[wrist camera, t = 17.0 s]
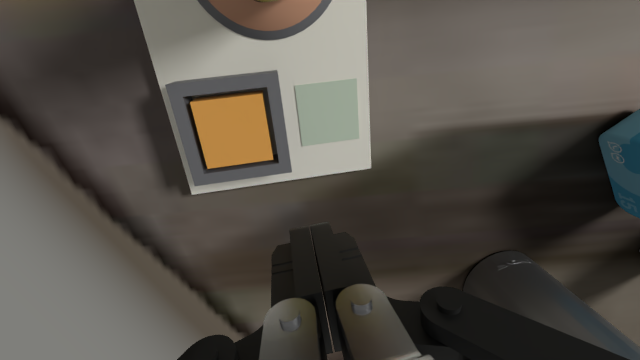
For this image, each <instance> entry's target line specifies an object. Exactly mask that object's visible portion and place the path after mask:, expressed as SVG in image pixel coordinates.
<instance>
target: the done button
mask: <svg viewBox="0 0 640 360" xmlns="http://www.w3.org/2000/svg"><path fill="white" fill-rule="evenodd" d="M190 105H191V109H192V112H193V116H194V120H195V124H196V127H197V131H198V135H199V139H200V142H201V146H202V150H203V154H204V158H205V161H206V165H207V169H210V168H217V167H225V166H232V165H239V164H246V163H253V162H260V161H267V160H273V148H272V142H271V136H270V130H269V124H268V118H267V112H266V106H265V100H264V94H263V90H259V91H251V92H243V93H234V94H226V95H217V96H209V97H200V98H195V99H194V100H192V101H191V102H190Z"/></svg>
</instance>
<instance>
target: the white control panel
mask: <svg viewBox="0 0 640 360" xmlns="http://www.w3.org/2000/svg"><path fill="white" fill-rule="evenodd" d="M134 3H135V6H136V10H137V13H138V16H139V20H140V23H141V26H142V30H143V33H144V36H145V40H146V43H147V46H148V50H149V53H150V56H151V60H152V63H153V66H154V70H155V73H156V76H157V80H158V83H159V86H160V90H161V93H162V96H163V100H164V103H165V106H166V110H167V113H168V116H169V120H170V123H171V127H172V130H173V133H174V137H175V140H176V143H177V147H178V150H179V153H180V157H181V160H182V163H183V167H184V170H185V173H186V177H187V180H188V183H189V187H190V190H191V193H192V195H194V194H200V193H207V192H214V191H221V190H228V189H234V188H241V187H248V186H255V185H261V184H268V183H275V182H282V181H289V180H295V179H302V178H309V177H316V176H322V175H329V174H336V173H343V172H350V171H356V170H363V169H370V168H371V148H370V114H369V81H368V47H367V13H366V0H278V1H272V2H257V1H254V0H134ZM259 90H263V94H264V100H265V106H266V112H267V118H268V124H269V130H270V136H271V142H272V148H273V160H267V161H260V162H253V163H246V164H239V165H232V166H225V167H217V168H210V169H207V165H206V161H205V158H204V154H203V150H202V146H201V142H200V139H199V135H198V131H197V127H196V124H195V120H194V116H193V112H192V109H191V105H190V102H191V101H192V100H194V99H195V98H200V97H209V96H217V95H226V94H234V93H243V92H251V91H259Z"/></svg>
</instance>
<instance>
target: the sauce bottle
mask: <svg viewBox="0 0 640 360" xmlns="http://www.w3.org/2000/svg"><path fill="white" fill-rule="evenodd" d="M254 1H257V2H272V1H278V0H254Z"/></svg>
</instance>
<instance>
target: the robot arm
mask: <svg viewBox="0 0 640 360" xmlns="http://www.w3.org/2000/svg"><path fill="white" fill-rule="evenodd" d="M310 228H311V234H312V240H313V245H314V250H313V246H312V241H311V236H310V231H309V226H305V227H300V228H295V229H290V242H291V243H288V244H283V245H278V246H277V247H276V249H275V251H274V252H273V254H272V280H271V309H270V310H269V311H268V313H267V314H266V316H265V319H264V324H263V325H262V326H261V327H260V328H259V329H258V330H257V331H255V332H254V333H252V334H251V335H249V336H247V337H245V338H243V339H241V340H239V341H237V342H235V343H233V341H232V340H231V339H230V338H229V337H227V336H224V335H213V336H208V337H205V338H203V339H201V340H199V341H198V342H196V343H195V344H193V345H192V346H191V347H190V348H188V349H187V350H186V352H184V354H183V355H181V356H180V357H179V358H178V359H177V360H327V355H326V354H329V353H333V351H332V345H331V340H330V334H329V328H328V323H327V317H326V311H327V316H328V321H329V325H330V330H331V335H332V340H333V345H334V350H335V352H338V351H342V353H343V357H344V360H640V347H639V346H638V345H636V344H635V343H634V342H633V341H632V340H630V339H629V338H628V337H627V336H625V335H624V334H623V333H622V332H620V331H619V330H618V329H617V328H616V327H614V326H613V325H612V324H611V323H609V322H608V321H607V320H606V319H604V318H603V317H602V316H601V315H599V314H598V313H597V312H596V311H595V310H593V309H592V308H591V307H590V306H588V305H587V304H586V303H585V302H583V301H582V300H581V299H580V298H579V297H577V296H576V295H575V294H574V293H572V292H571V291H570V290H569V289H567V288H566V287H565V286H564V285H562V284H561V283H560V282H559V281H558V280H556V279H555V278H554V277H553V276H551V275H550V274H549V273H548V272H546V271H545V270H544V269H543V268H542V267H540V266H539V265H538V264H537V263H535V262H534V261H533V260H532V259H530V258H529V257H528V256H526V255H525V254H524V253H521V252H518V251H503V252H500V253H496V254H494V255H491V256H489V257H487V258H486V259H484V260H483V261H481V262H480V263H479V264H478V265H477V266H475V267H474V269H473V270H472V271H471V272H470V273H469V275H468V277H467V278H466V281H465V284H464V288H463V291H461V290H458V289H455V288H451V287H436V288H432V289H430V290H428V291H426V292H425V293H424V294H423V295H422V297H421V300H420V302H415V301H400V300H395V299H392V298H389V297H387V296H386V295H385V294H384V293H383V292H382V291H381V290H380V289H379V288H377V287H376V286H375V284H374V282H373V279H372V277H371V275H370V273H369V270H368V268H367V266H366V264H365V261H364V259H363V257H362V255H361V253H360V250H359V249H358V246H357V244H356V241H355V239H354V238H353V237H352V236H350V235H349V234H347V233H346V232H343V233H338V234H333V232H332V229H331V226H330V223H329V222H325V223H320V224H315V225H310ZM314 251H315V255H314ZM315 256H316V260H315ZM316 262H317V265H316ZM317 267H318V270H317ZM318 272H319V275H318ZM319 277H320V280H319ZM320 282H321V284H320ZM321 287H322V289H321ZM322 292H323V295H322ZM323 297H324V300H323ZM324 301H325V306H326V311H325V306H324Z"/></svg>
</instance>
